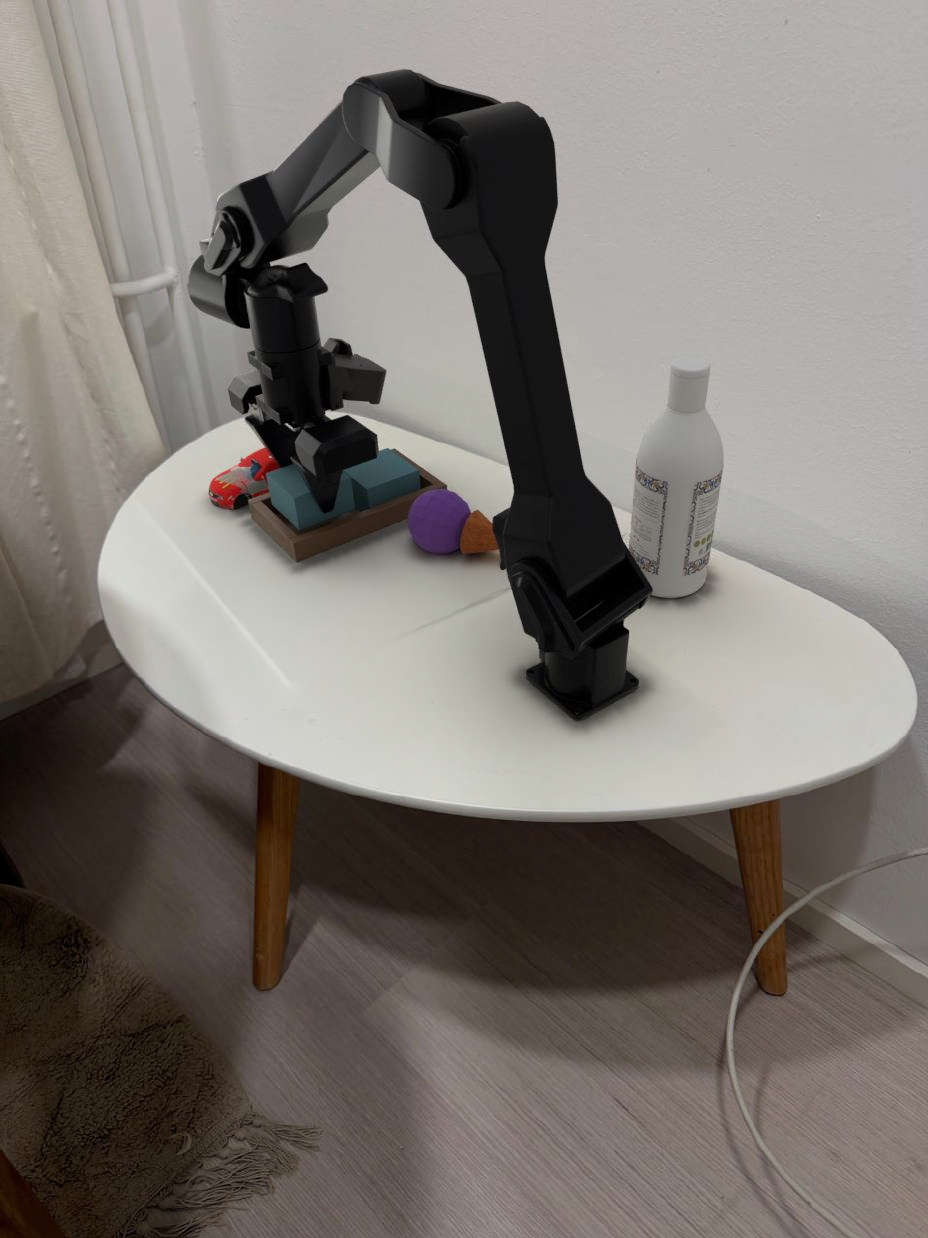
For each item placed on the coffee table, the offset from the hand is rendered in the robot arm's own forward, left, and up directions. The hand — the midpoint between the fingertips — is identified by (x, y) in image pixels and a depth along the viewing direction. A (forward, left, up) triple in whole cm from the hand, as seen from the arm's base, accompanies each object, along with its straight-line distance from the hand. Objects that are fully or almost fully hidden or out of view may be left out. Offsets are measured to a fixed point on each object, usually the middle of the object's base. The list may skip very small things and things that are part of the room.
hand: (312, 498), depth 89 cm
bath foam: (-27, -21, -4) cm, 34 cm away
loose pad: (0, 0, -1) cm, 1 cm away
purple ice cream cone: (-17, -11, -4) cm, 20 cm away
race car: (+10, 0, -4) cm, 11 cm away
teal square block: (0, -7, -3) cm, 8 cm away
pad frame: (0, -4, -3) cm, 5 cm away
